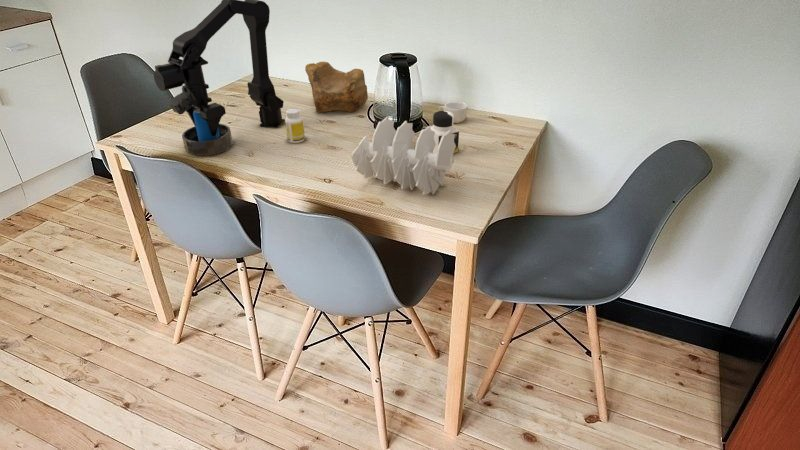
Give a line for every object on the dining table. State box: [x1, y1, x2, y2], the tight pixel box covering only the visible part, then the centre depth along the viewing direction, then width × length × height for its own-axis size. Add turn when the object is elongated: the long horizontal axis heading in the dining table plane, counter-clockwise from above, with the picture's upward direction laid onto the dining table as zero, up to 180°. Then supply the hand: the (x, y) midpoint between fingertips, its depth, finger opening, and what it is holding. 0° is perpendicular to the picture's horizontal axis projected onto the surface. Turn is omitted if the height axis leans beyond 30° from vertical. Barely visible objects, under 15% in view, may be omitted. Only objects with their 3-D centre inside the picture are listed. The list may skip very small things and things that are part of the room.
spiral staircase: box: [350, 116, 456, 196], centre depth 141 cm, size 18×18×25 cm
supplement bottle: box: [284, 108, 306, 144], centre depth 168 cm, size 5×5×10 cm
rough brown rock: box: [304, 61, 369, 113], centre depth 189 cm, size 23×17×15 cm
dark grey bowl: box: [181, 123, 234, 156], centre depth 166 cm, size 14×14×5 cm
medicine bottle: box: [430, 110, 460, 154], centre depth 159 cm, size 7×7×12 cm
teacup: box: [438, 101, 469, 124], centre depth 181 cm, size 10×8×5 cm
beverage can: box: [193, 107, 220, 141], centre depth 163 cm, size 6×6×12 cm
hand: (205, 131), depth 164 cm, fingers open, 9 cm apart
